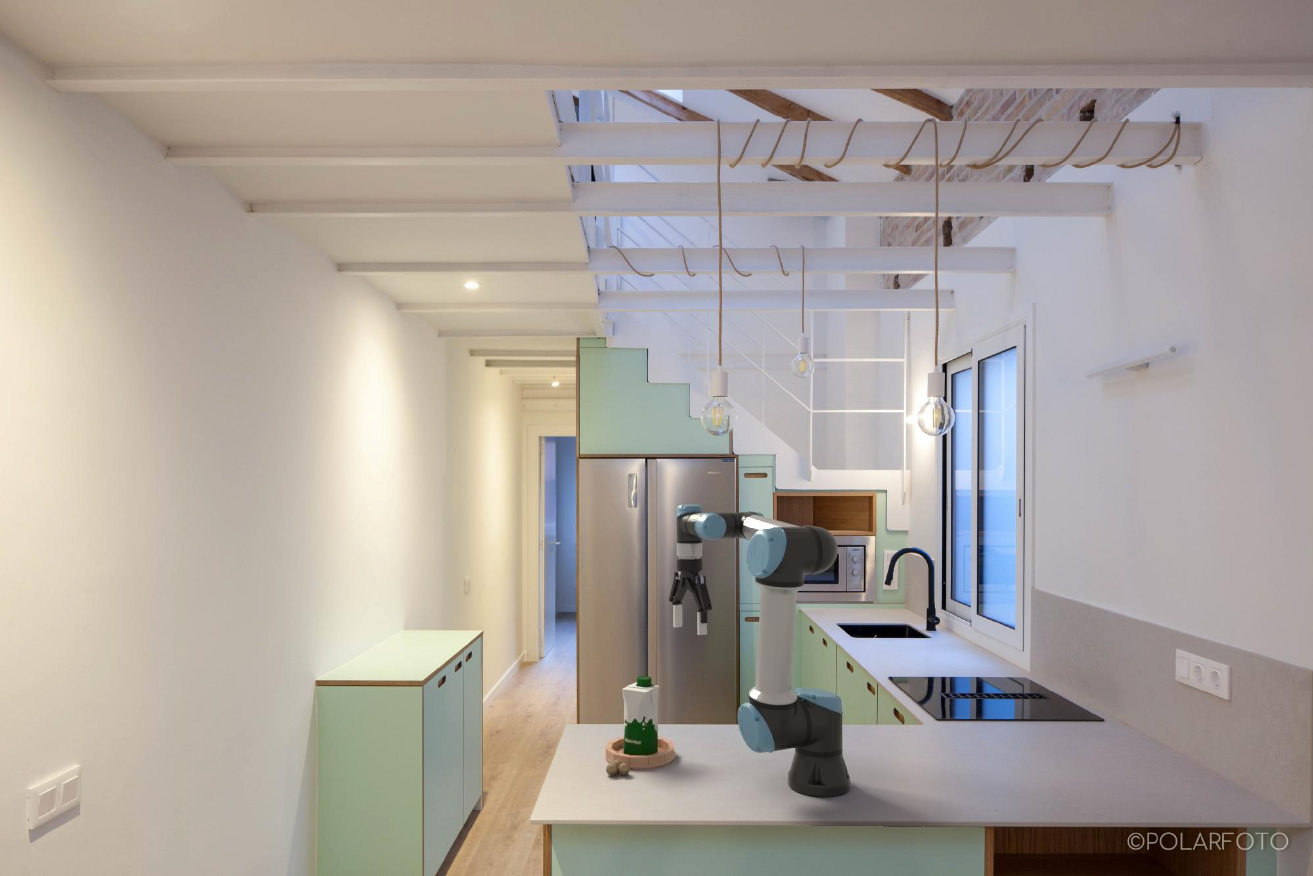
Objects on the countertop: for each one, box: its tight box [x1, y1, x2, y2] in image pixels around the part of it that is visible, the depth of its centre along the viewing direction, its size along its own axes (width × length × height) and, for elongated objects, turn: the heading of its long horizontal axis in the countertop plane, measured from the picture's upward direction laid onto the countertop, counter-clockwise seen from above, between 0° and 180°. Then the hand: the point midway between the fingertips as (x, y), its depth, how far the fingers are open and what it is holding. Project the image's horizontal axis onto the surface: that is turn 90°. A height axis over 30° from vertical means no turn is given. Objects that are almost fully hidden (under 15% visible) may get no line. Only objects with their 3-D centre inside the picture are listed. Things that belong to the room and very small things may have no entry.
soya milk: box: [621, 675, 660, 756], centre depth 226 cm, size 9×9×20 cm
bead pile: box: [605, 760, 631, 777], centre depth 213 cm, size 6×6×3 cm
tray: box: [604, 736, 676, 770], centre depth 226 cm, size 19×19×3 cm
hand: (689, 630), depth 241 cm, fingers open, 13 cm apart
